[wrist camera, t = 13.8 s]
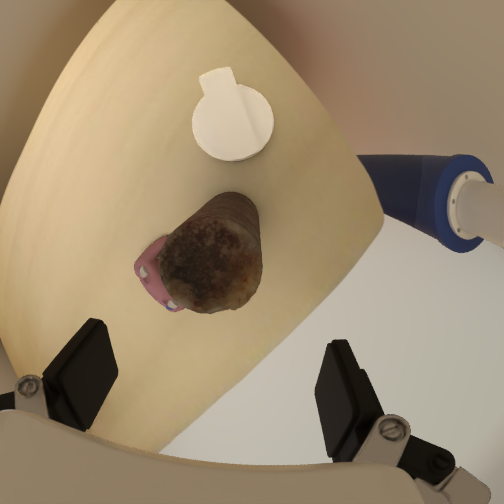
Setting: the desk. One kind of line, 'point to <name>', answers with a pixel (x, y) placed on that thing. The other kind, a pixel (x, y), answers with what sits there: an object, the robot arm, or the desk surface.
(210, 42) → the desk surface
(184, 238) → the rusty brown cylinder
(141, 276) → the video game controller
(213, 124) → the base with upright slab
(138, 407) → the desk surface
